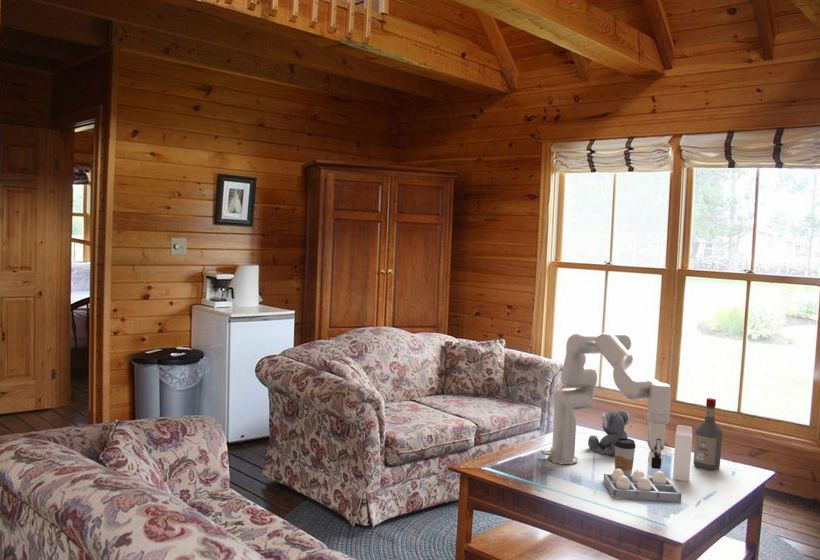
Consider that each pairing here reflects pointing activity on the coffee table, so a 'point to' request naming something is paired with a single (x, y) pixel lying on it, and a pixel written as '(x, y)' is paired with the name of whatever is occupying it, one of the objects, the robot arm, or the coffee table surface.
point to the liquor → (708, 441)
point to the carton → (641, 486)
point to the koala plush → (610, 432)
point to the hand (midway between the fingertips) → (655, 465)
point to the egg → (651, 458)
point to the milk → (682, 453)
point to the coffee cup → (624, 455)
